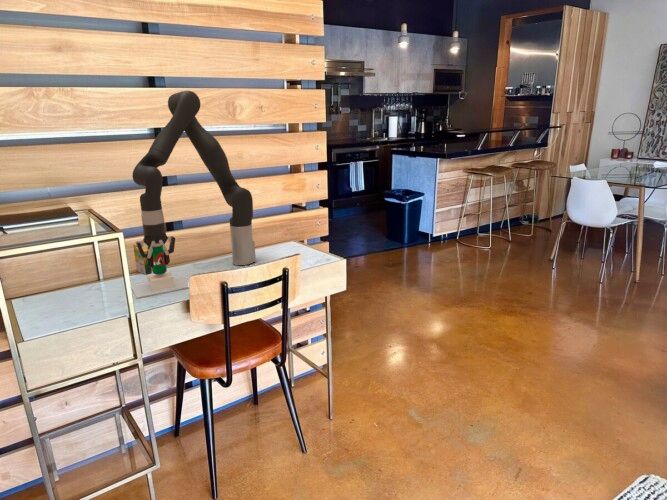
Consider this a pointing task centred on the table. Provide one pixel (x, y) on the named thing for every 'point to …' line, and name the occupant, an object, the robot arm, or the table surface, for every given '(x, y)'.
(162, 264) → the soda can
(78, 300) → the table surface
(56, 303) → the table surface
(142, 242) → the robot arm
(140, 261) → the crayon box
